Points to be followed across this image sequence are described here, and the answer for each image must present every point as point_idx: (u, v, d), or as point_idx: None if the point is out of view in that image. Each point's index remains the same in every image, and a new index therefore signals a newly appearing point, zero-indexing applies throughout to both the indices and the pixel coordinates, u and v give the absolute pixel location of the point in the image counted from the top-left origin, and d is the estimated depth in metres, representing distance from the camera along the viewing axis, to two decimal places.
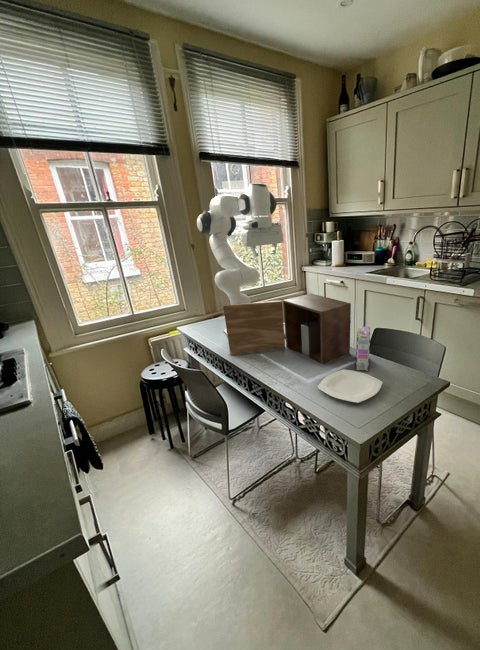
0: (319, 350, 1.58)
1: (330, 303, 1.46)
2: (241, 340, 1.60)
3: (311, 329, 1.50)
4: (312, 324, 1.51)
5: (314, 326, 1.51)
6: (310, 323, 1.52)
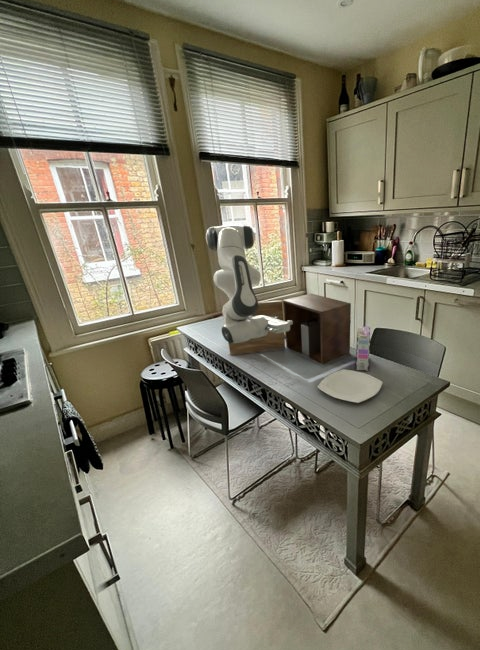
0: (319, 350, 1.58)
1: (330, 303, 1.46)
2: None
3: (311, 329, 1.50)
4: (312, 324, 1.51)
5: (314, 326, 1.51)
6: (310, 323, 1.52)
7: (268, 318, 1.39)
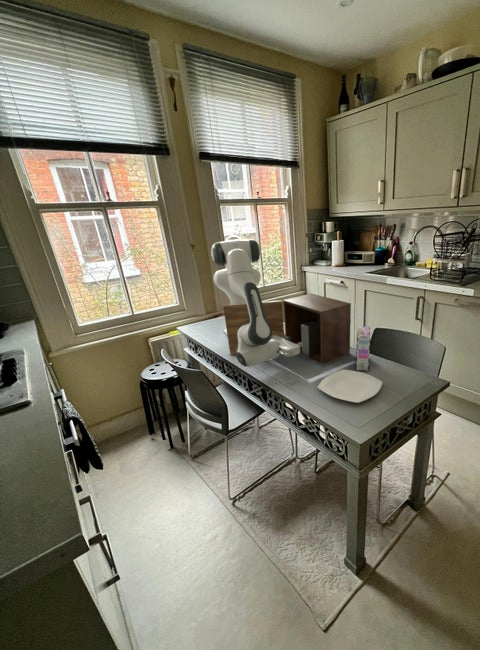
0: (319, 350, 1.58)
1: (330, 303, 1.46)
2: None
3: (311, 329, 1.50)
4: (312, 324, 1.51)
5: (314, 326, 1.51)
6: (310, 323, 1.52)
7: (280, 339, 1.47)
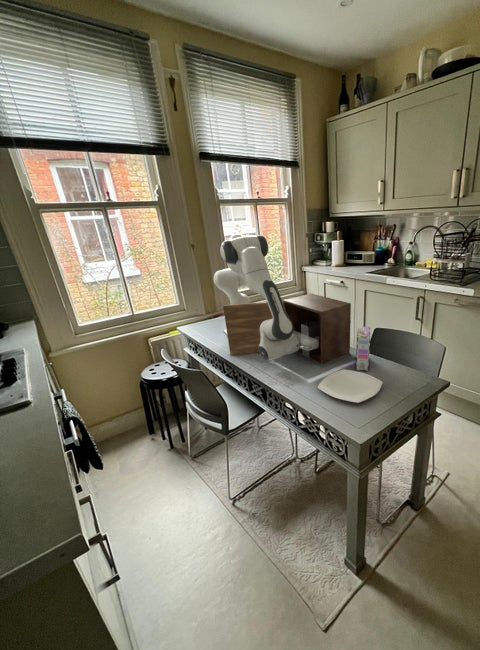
0: (319, 350, 1.58)
1: (330, 303, 1.46)
2: (241, 340, 1.60)
3: (311, 329, 1.50)
4: (312, 324, 1.51)
5: (314, 326, 1.50)
6: (310, 323, 1.52)
7: (298, 334, 1.53)
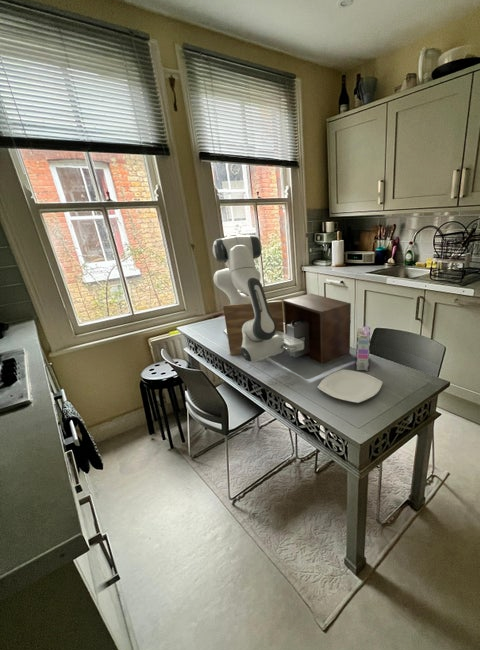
0: (306, 352, 1.52)
1: (330, 303, 1.46)
2: (241, 340, 1.60)
3: (296, 330, 1.44)
4: (298, 325, 1.45)
5: (300, 327, 1.45)
6: (296, 324, 1.46)
7: (284, 335, 1.47)
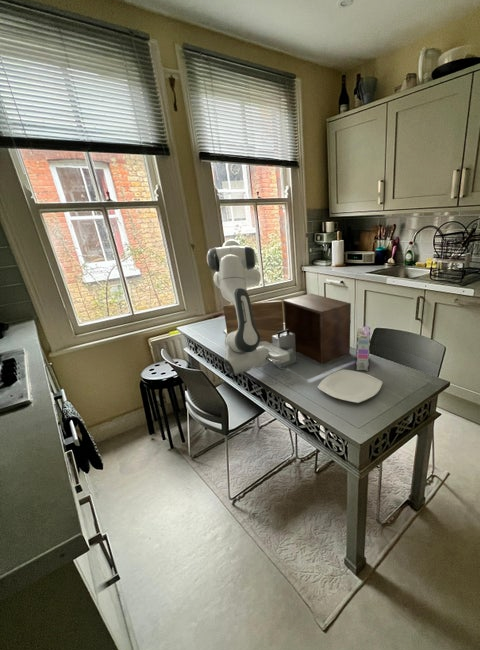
0: None
1: (330, 303, 1.46)
2: None
3: (282, 341, 1.41)
4: (284, 336, 1.42)
5: (285, 338, 1.42)
6: (282, 335, 1.43)
7: (269, 346, 1.44)
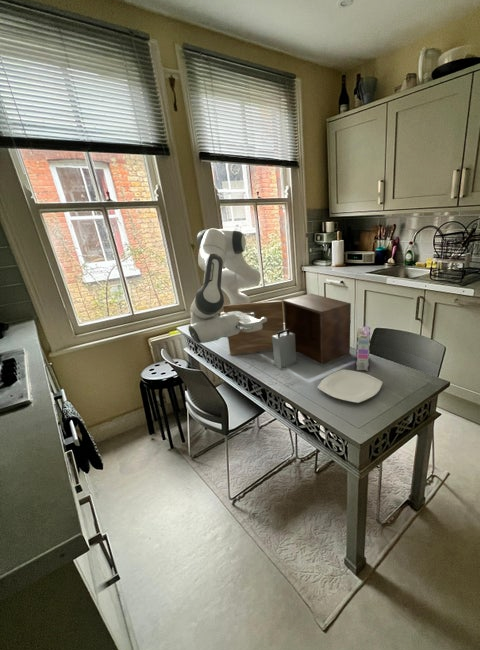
0: None
1: (330, 303, 1.46)
2: (241, 340, 1.60)
3: (282, 341, 1.41)
4: (284, 336, 1.42)
5: (285, 338, 1.42)
6: (282, 335, 1.43)
7: (241, 315, 1.32)
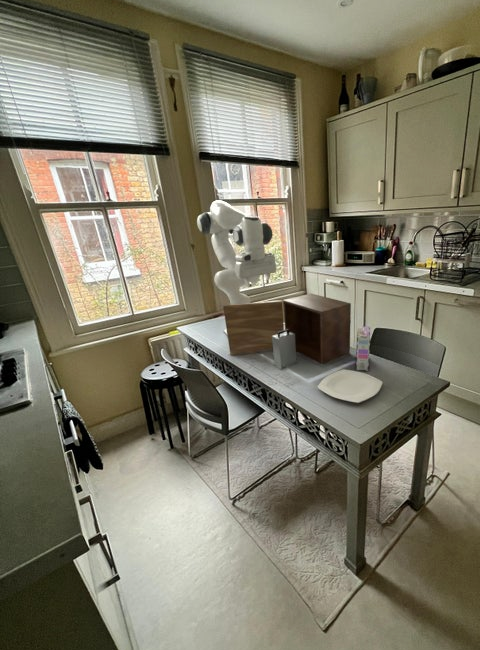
0: None
1: (330, 303, 1.46)
2: (241, 340, 1.60)
3: (282, 341, 1.41)
4: (284, 336, 1.42)
5: (285, 338, 1.42)
6: (282, 335, 1.43)
7: None
